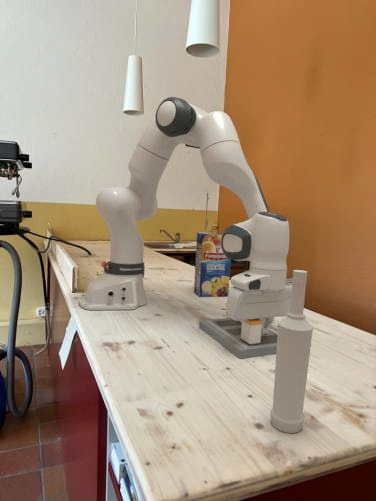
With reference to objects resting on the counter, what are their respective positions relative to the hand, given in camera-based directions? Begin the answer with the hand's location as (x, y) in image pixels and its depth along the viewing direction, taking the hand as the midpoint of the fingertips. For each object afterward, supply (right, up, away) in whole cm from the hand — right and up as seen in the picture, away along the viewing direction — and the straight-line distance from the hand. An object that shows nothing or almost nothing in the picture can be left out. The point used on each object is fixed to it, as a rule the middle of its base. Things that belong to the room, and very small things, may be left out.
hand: (262, 334), depth 89 cm
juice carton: (-10, +3, +52) cm, 53 cm away
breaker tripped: (-3, -1, -1) cm, 4 cm away
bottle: (-3, -7, -31) cm, 32 cm away
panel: (-3, -3, +7) cm, 8 cm away
